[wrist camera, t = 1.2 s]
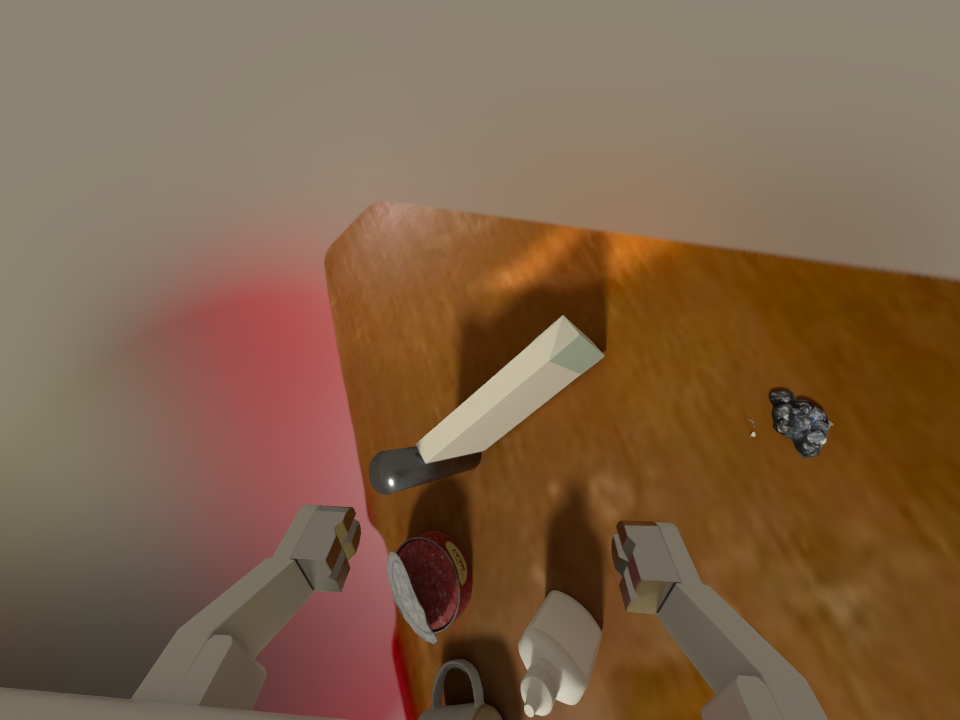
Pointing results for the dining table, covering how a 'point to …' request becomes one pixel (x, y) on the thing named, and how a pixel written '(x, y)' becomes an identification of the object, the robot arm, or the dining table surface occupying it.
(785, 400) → the blueberries
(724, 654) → the robot arm
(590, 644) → the eye dropper bottle
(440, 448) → the cream flat block
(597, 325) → the dining table surface
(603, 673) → the dining table surface
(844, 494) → the dining table surface
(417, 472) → the hinge post
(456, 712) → the ceramic mug
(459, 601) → the canned food
